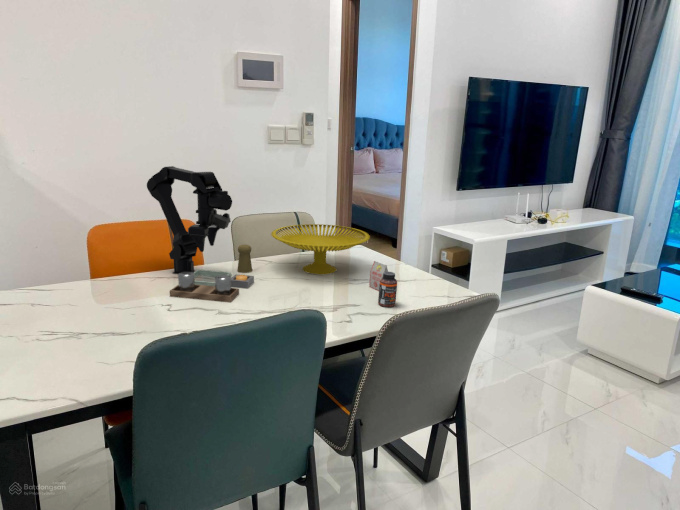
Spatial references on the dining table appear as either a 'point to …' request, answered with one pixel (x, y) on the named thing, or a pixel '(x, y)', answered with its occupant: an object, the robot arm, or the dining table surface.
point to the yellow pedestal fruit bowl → (320, 243)
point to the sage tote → (208, 273)
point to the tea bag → (377, 274)
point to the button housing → (242, 282)
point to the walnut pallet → (204, 293)
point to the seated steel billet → (223, 285)
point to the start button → (241, 277)
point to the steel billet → (186, 281)
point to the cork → (244, 259)
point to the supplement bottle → (387, 290)
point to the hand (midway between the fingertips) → (207, 248)
